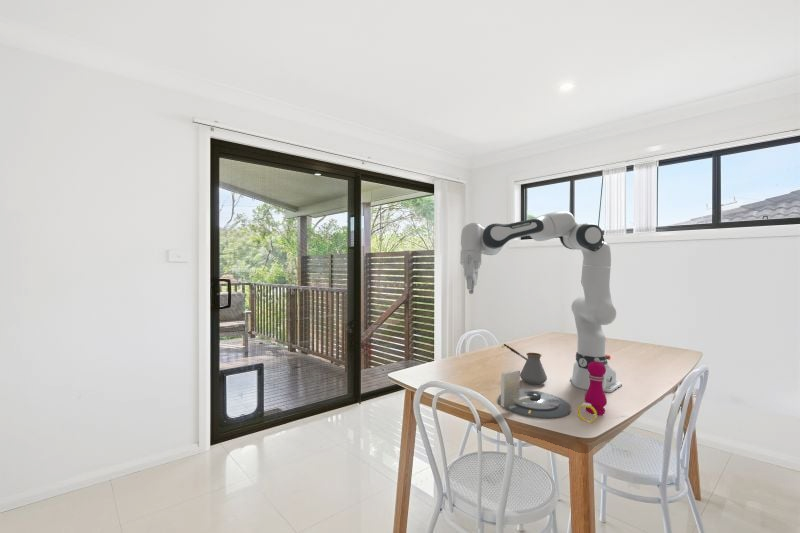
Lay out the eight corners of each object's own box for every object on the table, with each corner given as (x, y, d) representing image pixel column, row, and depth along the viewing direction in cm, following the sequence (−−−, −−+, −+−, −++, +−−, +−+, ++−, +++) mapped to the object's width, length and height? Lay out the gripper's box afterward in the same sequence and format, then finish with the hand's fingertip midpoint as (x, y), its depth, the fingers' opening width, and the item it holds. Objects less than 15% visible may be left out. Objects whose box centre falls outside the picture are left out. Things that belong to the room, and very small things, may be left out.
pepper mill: (609, 417, 135) (611, 360, 134) (587, 414, 136) (589, 359, 136) (602, 409, 142) (604, 355, 141) (581, 407, 143) (583, 354, 143)
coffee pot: (551, 383, 171) (552, 349, 171) (539, 389, 163) (540, 354, 163) (508, 372, 186) (508, 341, 186) (495, 377, 178) (496, 345, 178)
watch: (576, 420, 132) (576, 403, 132) (579, 418, 134) (578, 401, 134) (595, 424, 128) (594, 406, 128) (598, 422, 130) (597, 404, 130)
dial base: (528, 388, 163) (528, 385, 163) (585, 409, 141) (585, 406, 141) (484, 399, 149) (484, 396, 149) (539, 424, 127) (540, 420, 127)
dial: (530, 390, 158) (531, 358, 157) (569, 404, 142) (570, 369, 142) (484, 401, 144) (485, 366, 144) (522, 419, 129) (523, 380, 128)
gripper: (476, 252, 153) (476, 286, 149) (479, 266, 172) (479, 296, 168) (460, 253, 154) (459, 286, 151) (465, 266, 174) (465, 296, 170)
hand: (470, 291), depth 160 cm, fingers open, 8 cm apart
